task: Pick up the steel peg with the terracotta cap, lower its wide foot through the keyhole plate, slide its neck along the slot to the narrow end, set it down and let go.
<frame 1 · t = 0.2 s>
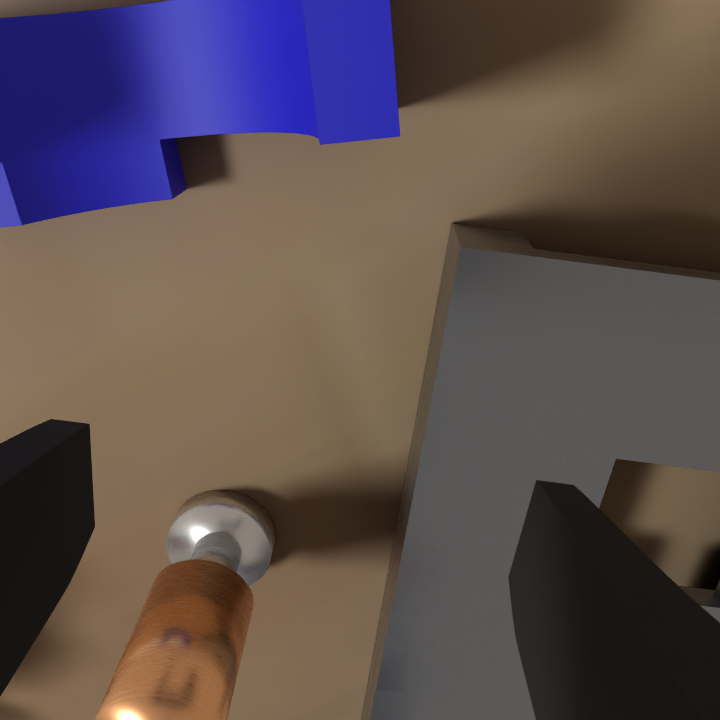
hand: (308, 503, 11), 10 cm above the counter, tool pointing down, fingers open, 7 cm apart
keyhole plate: (611, 578, 24), on the counter
peg: (224, 531, 24), on the counter
cable clip: (172, 102, 18), on the counter
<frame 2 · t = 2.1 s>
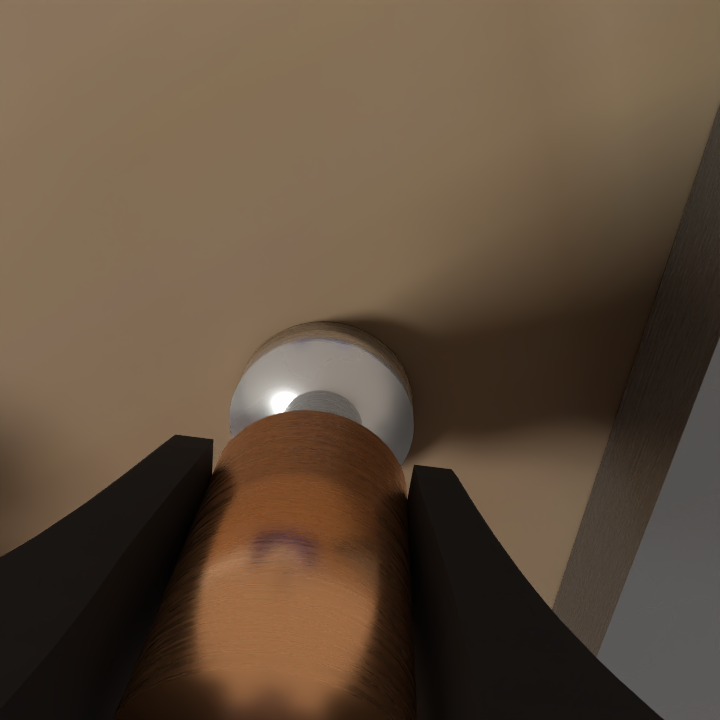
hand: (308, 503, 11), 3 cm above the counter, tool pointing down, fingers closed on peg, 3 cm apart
peg: (325, 402, 14), on the counter, touching gripper
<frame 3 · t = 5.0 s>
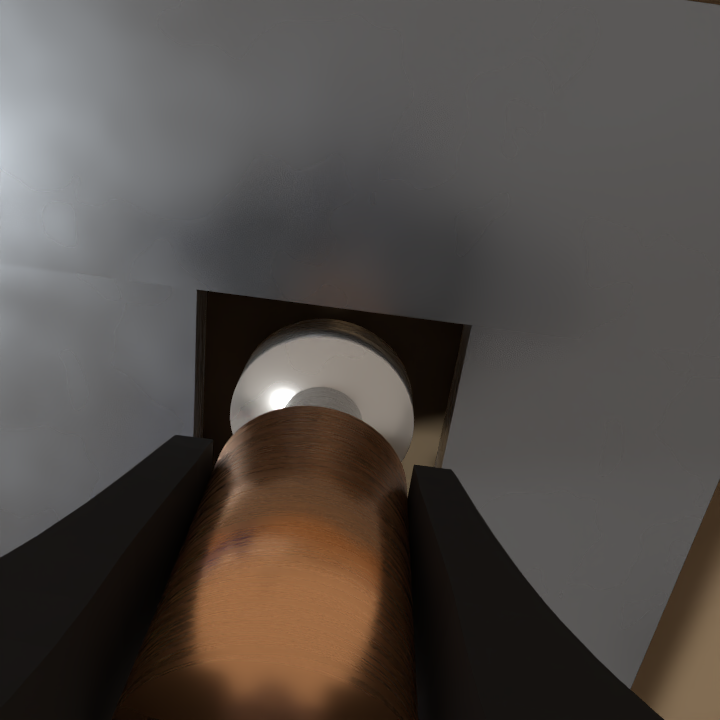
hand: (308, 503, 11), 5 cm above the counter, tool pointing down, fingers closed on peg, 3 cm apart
keyhole plate: (313, 510, 17), on the counter
peg: (325, 399, 14), point 2 cm above the counter, touching gripper
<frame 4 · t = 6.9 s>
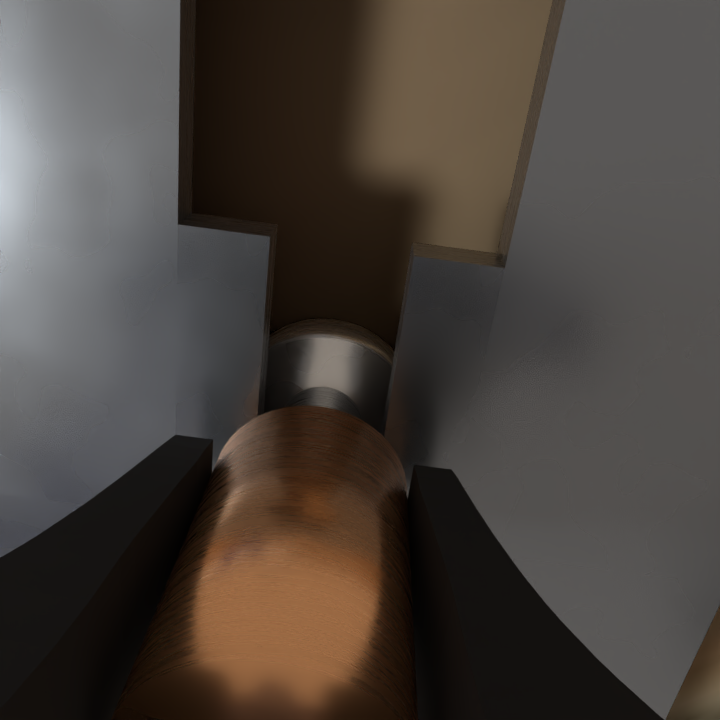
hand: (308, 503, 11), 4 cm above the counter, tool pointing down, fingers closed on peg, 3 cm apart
keyhole plate: (341, 286, 13), on the counter
peg: (325, 398, 14), on the counter, touching gripper
when the fingers open (3 cm above the counter, at t = 8.0 s): peg stays where it is, on the counter.
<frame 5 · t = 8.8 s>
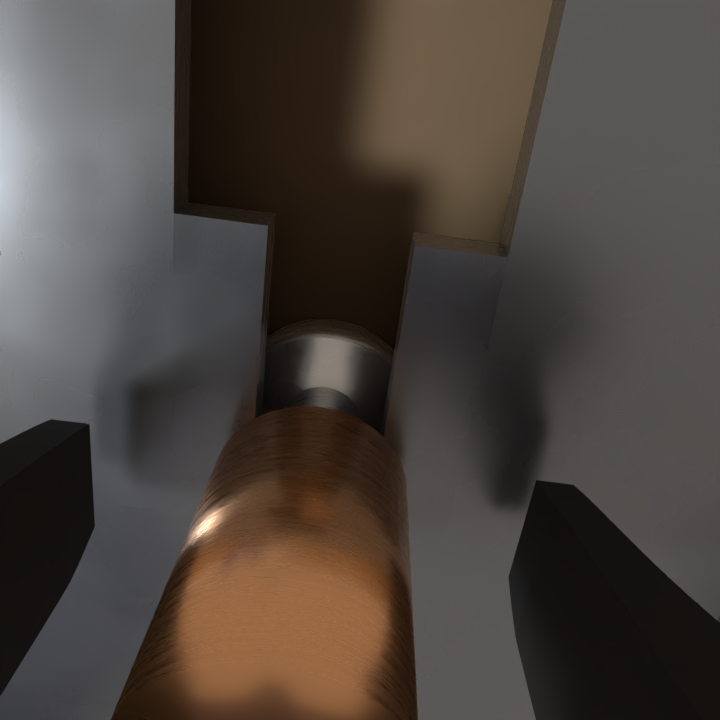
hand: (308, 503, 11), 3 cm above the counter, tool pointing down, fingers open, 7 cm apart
keyhole plate: (340, 279, 13), on the counter
peg: (325, 399, 14), on the counter
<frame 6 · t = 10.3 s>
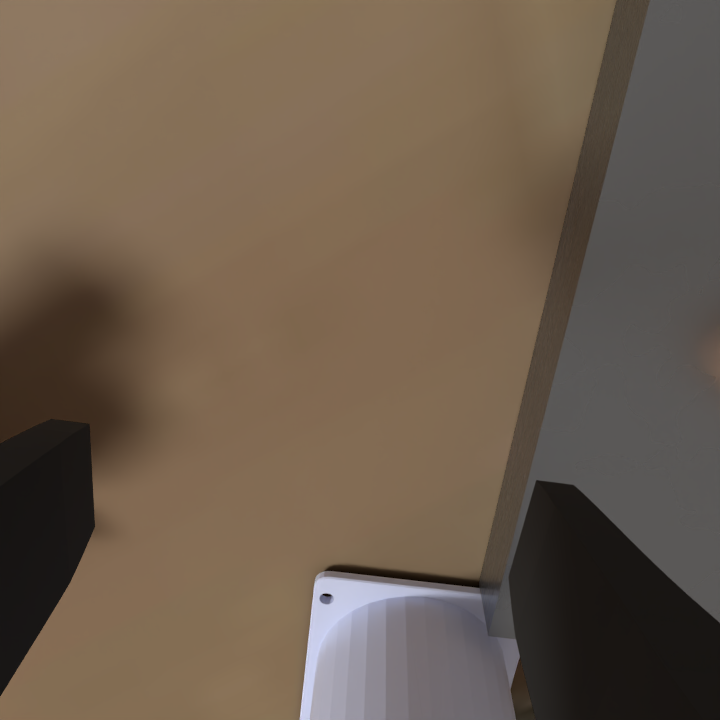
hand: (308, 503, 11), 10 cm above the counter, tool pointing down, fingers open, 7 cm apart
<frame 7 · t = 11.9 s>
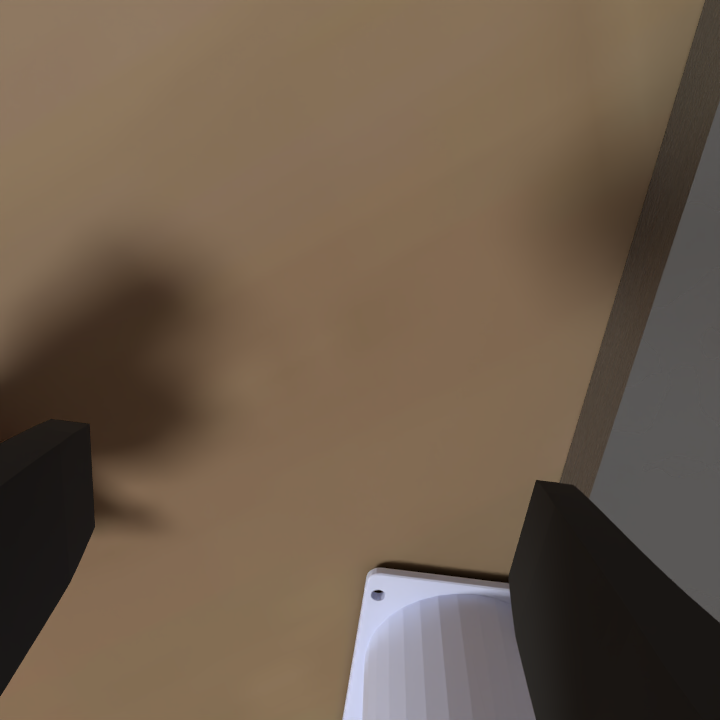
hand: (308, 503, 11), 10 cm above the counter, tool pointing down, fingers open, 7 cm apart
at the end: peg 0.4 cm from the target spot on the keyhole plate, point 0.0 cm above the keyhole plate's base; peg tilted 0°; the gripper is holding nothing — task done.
